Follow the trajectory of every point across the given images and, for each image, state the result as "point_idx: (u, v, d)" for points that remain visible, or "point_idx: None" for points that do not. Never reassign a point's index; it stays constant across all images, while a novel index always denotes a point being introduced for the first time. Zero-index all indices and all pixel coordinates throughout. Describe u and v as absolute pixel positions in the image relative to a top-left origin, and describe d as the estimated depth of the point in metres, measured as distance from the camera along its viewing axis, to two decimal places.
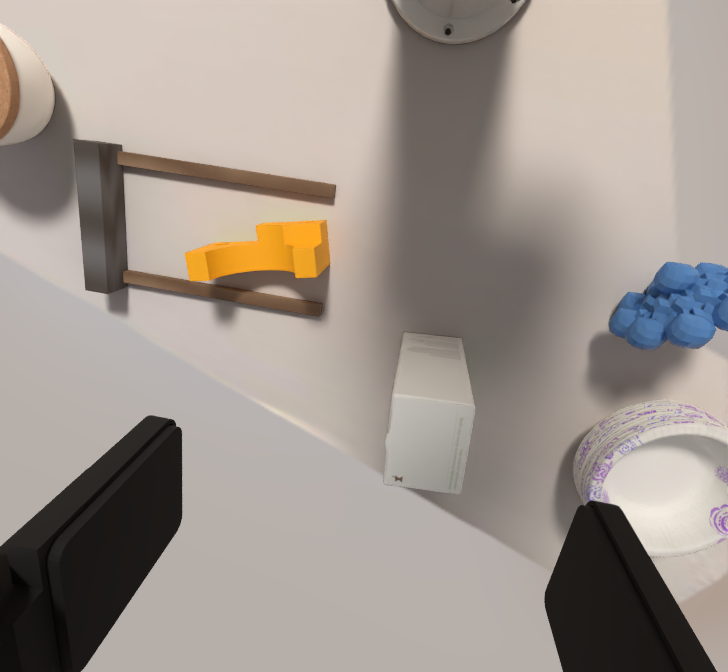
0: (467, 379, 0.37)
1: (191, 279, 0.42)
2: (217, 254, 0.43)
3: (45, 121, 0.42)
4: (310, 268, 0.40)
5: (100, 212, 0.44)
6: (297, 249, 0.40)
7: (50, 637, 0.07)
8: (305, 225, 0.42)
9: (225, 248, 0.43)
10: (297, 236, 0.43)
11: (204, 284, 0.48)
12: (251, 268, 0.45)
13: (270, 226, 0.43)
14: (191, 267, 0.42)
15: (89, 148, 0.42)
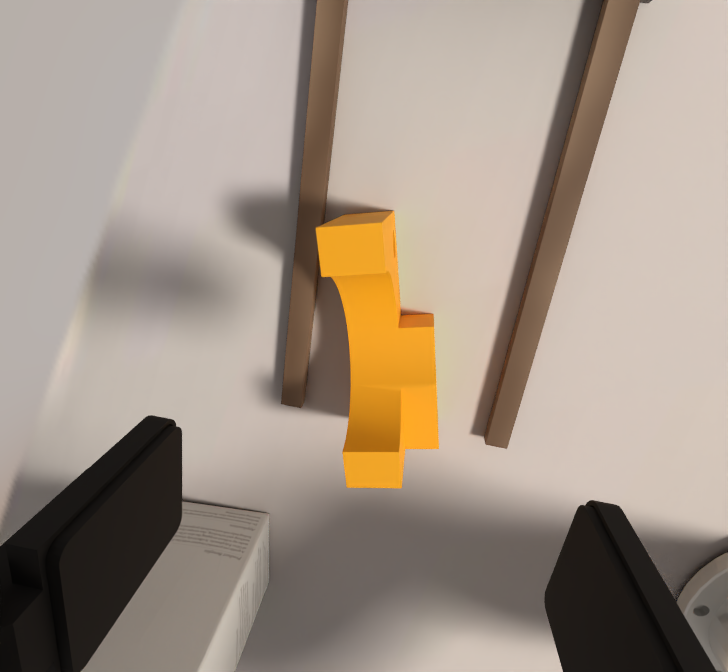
0: None
1: (319, 232, 0.18)
2: (378, 274, 0.20)
3: None
4: (362, 478, 0.21)
5: None
6: (398, 459, 0.21)
7: (50, 638, 0.07)
8: (435, 425, 0.23)
9: (390, 280, 0.20)
10: (415, 411, 0.23)
11: (326, 180, 0.23)
12: (350, 313, 0.23)
13: (432, 355, 0.23)
14: (348, 235, 0.17)
15: None
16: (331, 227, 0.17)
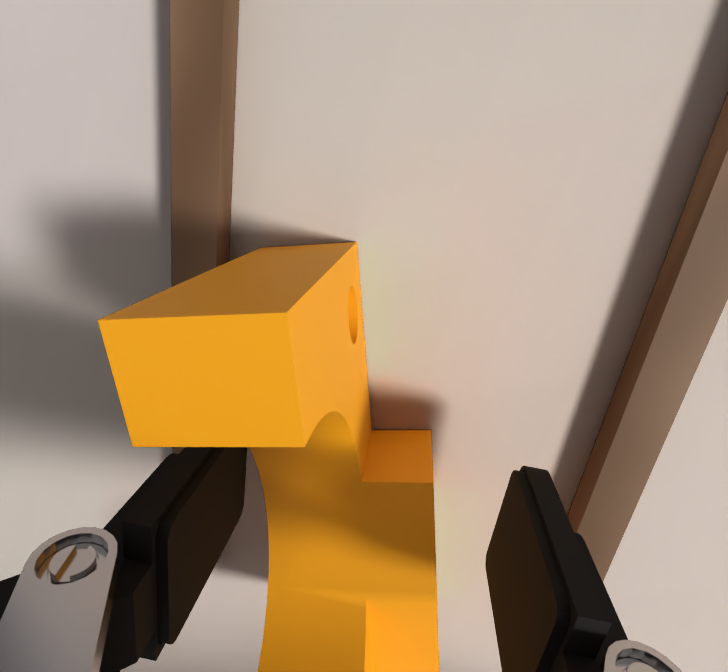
0: None
1: (111, 332, 0.06)
2: None
3: None
4: None
5: None
6: None
7: (154, 608, 0.08)
8: (434, 665, 0.12)
9: (336, 412, 0.09)
10: (395, 639, 0.12)
11: (224, 184, 0.11)
12: (262, 453, 0.11)
13: (429, 535, 0.11)
14: (193, 345, 0.06)
15: None
16: (142, 320, 0.06)
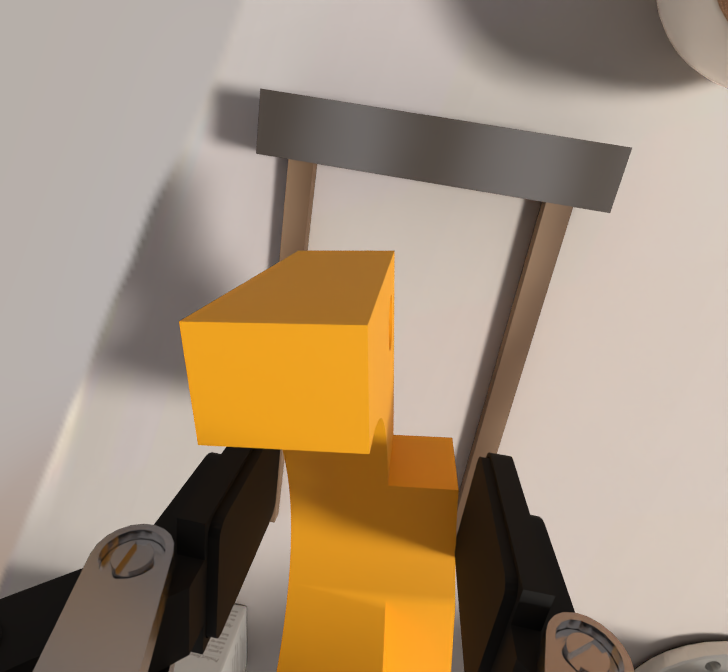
0: None
1: (191, 334, 0.06)
2: None
3: (687, 61, 0.16)
4: None
5: (453, 181, 0.18)
6: None
7: (203, 603, 0.08)
8: (446, 667, 0.12)
9: (378, 418, 0.09)
10: (410, 640, 0.12)
11: None
12: (293, 453, 0.11)
13: (450, 540, 0.12)
14: (271, 351, 0.06)
15: (602, 187, 0.18)
16: (223, 324, 0.06)
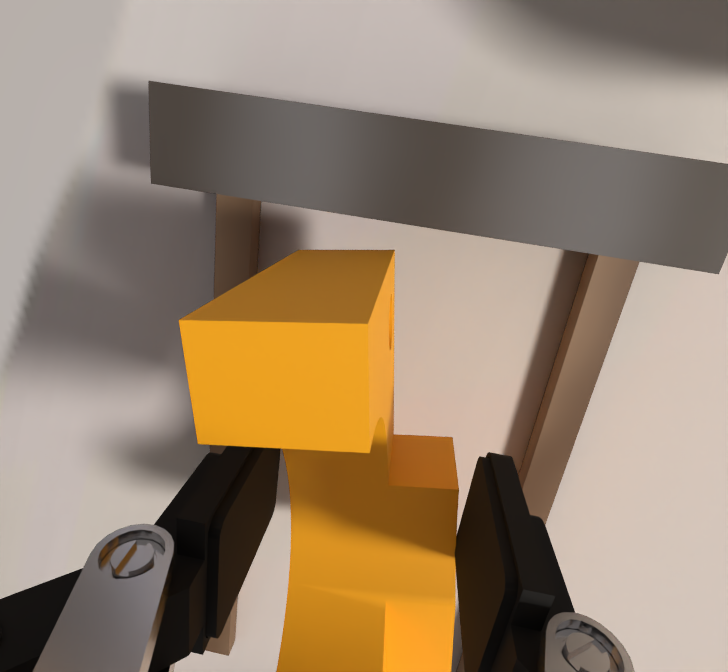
0: None
1: (191, 333, 0.06)
2: None
3: None
4: None
5: (462, 224, 0.11)
6: None
7: (203, 604, 0.08)
8: (446, 667, 0.12)
9: (379, 418, 0.09)
10: (410, 640, 0.12)
11: None
12: (293, 453, 0.11)
13: (451, 540, 0.12)
14: (271, 350, 0.06)
15: (708, 233, 0.11)
16: (223, 323, 0.06)
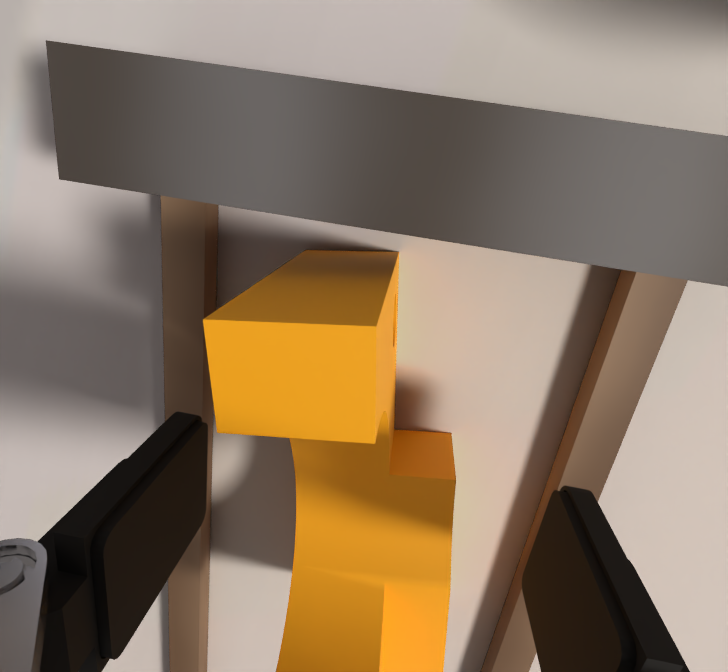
0: None
1: (213, 331, 0.07)
2: None
3: None
4: None
5: (468, 233, 0.08)
6: None
7: (92, 623, 0.08)
8: (440, 646, 0.13)
9: (382, 411, 0.10)
10: (407, 620, 0.13)
11: None
12: (300, 442, 0.12)
13: (447, 527, 0.12)
14: (287, 348, 0.07)
15: None
16: (243, 323, 0.07)
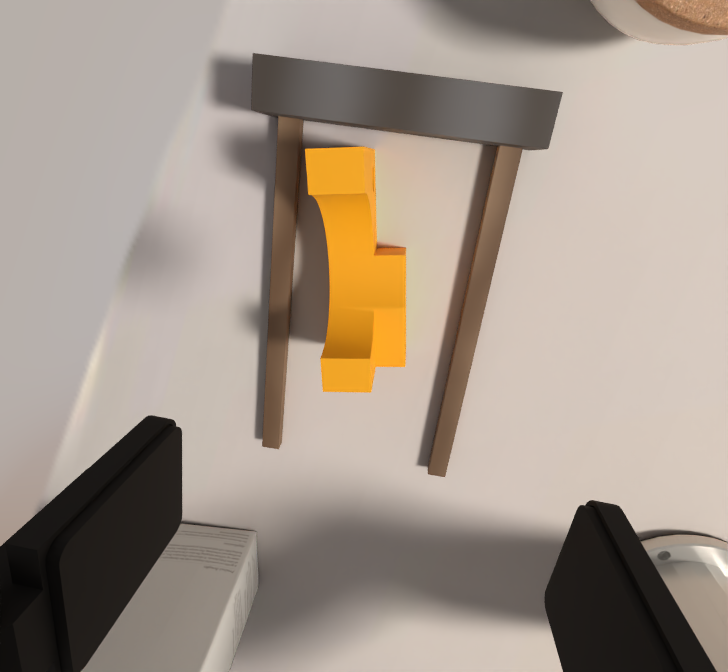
0: None
1: (308, 153, 0.20)
2: (358, 199, 0.22)
3: (604, 17, 0.20)
4: (337, 383, 0.24)
5: (418, 126, 0.22)
6: (368, 366, 0.24)
7: (50, 638, 0.07)
8: (403, 345, 0.26)
9: (368, 207, 0.23)
10: (386, 331, 0.26)
11: (291, 276, 0.28)
12: (331, 239, 0.25)
13: (403, 281, 0.26)
14: (333, 157, 0.20)
15: (540, 126, 0.21)
16: (319, 149, 0.20)
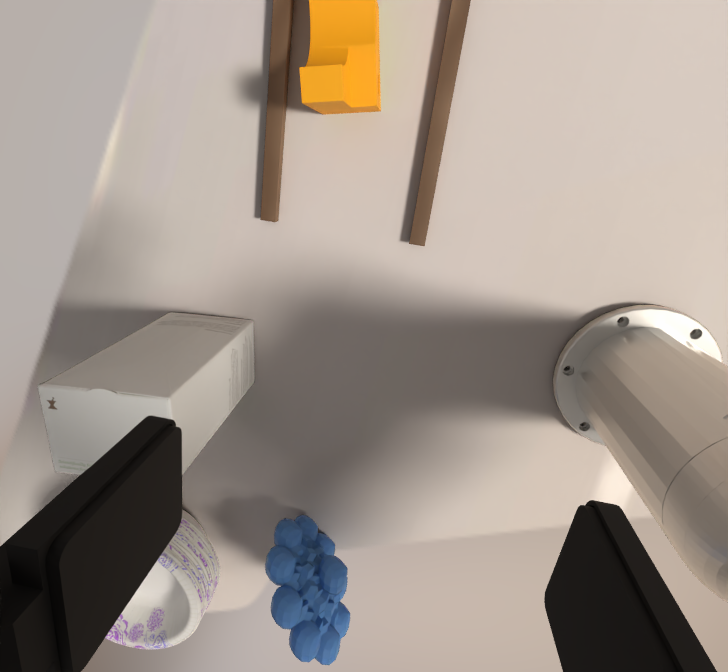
0: (206, 442, 0.32)
1: None
2: None
3: None
4: (314, 93, 0.28)
5: None
6: (340, 72, 0.27)
7: (49, 637, 0.07)
8: (374, 82, 0.30)
9: None
10: (359, 69, 0.30)
11: (289, 38, 0.32)
12: None
13: (373, 21, 0.29)
14: None
15: None
16: None
